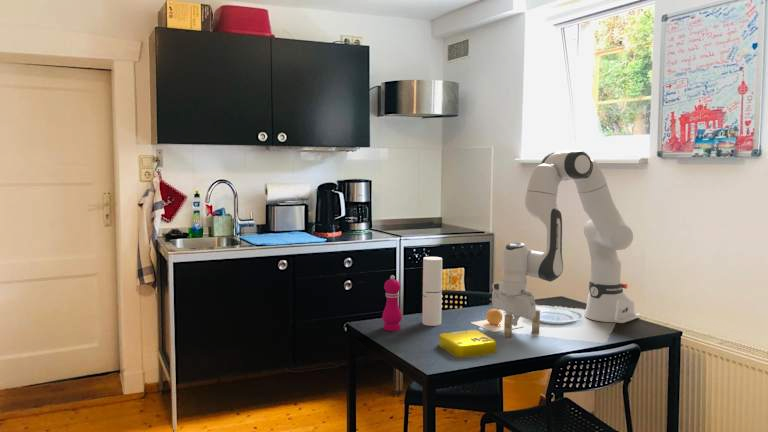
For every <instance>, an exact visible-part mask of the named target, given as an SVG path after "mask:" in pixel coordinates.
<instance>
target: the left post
mask: <svg viewBox="0 0 768 432" xmlns="http://www.w3.org/2000/svg"><path fill="white" fill-rule="evenodd" d="M512 316H513V314H512V315H510V314H506V313H505V314H504V320H505V321H504V331H503V337H504V338H505V339H512V333H513V332H512V331H513V329H512Z"/></svg>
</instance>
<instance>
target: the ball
mask: <svg viewBox="0 0 768 432" xmlns="http://www.w3.org/2000/svg"><path fill="white" fill-rule="evenodd" d="M485 319H486V320H487V321H488V322H489V323H490V324H492V325H497V324H499V323H500V322H501V321H502V319H503V314H502V312H501V310H500V309H497V308H491V309H489V310H488V311H487V313H486V317H485Z"/></svg>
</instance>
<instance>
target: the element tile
mask: <svg viewBox="0 0 768 432" xmlns="http://www.w3.org/2000/svg"><path fill="white" fill-rule="evenodd" d="M438 339H439V341H438V346H439V347H440V348H441V349H443V350H444V351H446V352H448V353H449V354H450V355H452V356H454V357H456V358H460V359H461V358H471V357H478V356H483V355H493V354H495V353H496V352H497V351H496V350H497V341H496V340H495V339H494V338H492V337H490V336H489V335H486V334H485V333H482V332H481V331H478V330H477V329H470V330H460V331H452V332H444V333H443V332H442V333H440V334H439V338H438Z"/></svg>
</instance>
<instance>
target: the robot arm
mask: <svg viewBox="0 0 768 432" xmlns="http://www.w3.org/2000/svg"><path fill="white" fill-rule="evenodd" d="M604 175H605V174H604V173H603V171H602V169H601V167H600V165H599V164H598V162H597V161H596V160H594V159H591V157H590V156H589V155H588V154H587V153H586V152H585V151H583V150H578V149H575V150H562V151H557V152H551V153H549V154H547V155H546V156H544V158H543V159H542V161H541V163H540V164H538V165H536V166H534V167H533V169H532V173H531V174H530V177H529V180H528V185H527V188H526V195H525V198H524V199H525V201H524V202H525V203H524V204H525V208H526V211H528V213H529V214H530V215H531V216H532V217H534V218H535V219H537V220H538V221H541V222H542V223H543V225H544V226H545V228H546V250H545V252H544V251H537V250H533V249H530V248H528V247H527V245H526V244H525V243H523V242H511V243H507V244H506V245H505V246H504V249H503V254H502V261H501V262H502V265H501V269H502V277H501V281H499V282H494V283H492V285H491V286H492V289H493V290H492V291H491V292H492V294H491V305H492V307H493V309H497V310H499V311H504V312H506V313H505V315H506V314H510V315H512V325H513V326H517V324H518V322H519V320H520V318H523V319H526V320H532V318H534V317H535V316H536V310H537V309H536V301H535V297H534V295H533V293H532V292H529V291H527V284H528V283H527V280H528V278H527V277H531V278H536V279H540V280H542V281H543V280H544V281H546V282H553V281H555V280H556V279H558V278H559V277H560V276H561V275H562V273H563V271H564V263H563V262H564V261H563V254H562V252H563V217H562V213H561V211H560V210H559V209H558V205H557V197H558V189H559V185H560V183H561V182H562V181H569V180H572V181H573V182H574V184H575V187H576V191H577V193H578V196H579V198H580V202H581V205H582V208H583V210H584V212H585V213H586V215H587V216H588V218H589V219H588V220H587V222H586V223H585V225H584V226H583V233H584V234H583V235H584V237H585V239H586V241H587V245H588V250H589V256H590V280H589V283H588V291H589V292H588V295H587V300H586V305H585V306H586V307H585V309H584V317H585V318H587V319H589V320H593V321H597V322H602V323H603V322H604V323H618V324H625V323H627V322H631V321H633V320H635V319H639V318H641V313H639V312H637V311H635V302H634V301H633V299H631V297H629V296H628V295H626V293H625V292H624V289H625V290H627V289H628V283H624V282H622V283H621V272H622V271H621V269H622V263H621V260H620V258H619V256H618V253H617V251H620V250H621V251H622V250H626V249H627V248H629V247H630V246H631V245H632V243H633V240H634V233H633V231H632V229H631V228H630V227H629V225H628V224H627V223H626V222H625V219H624V218H623V217H622V215H621V214H620V212H619V210H618V208H617V207H616V204H615V203H614V201H613V198H612V195H611V192H610V189H609V186H608V183H607V181H606V180H607V179H606V178H605V176H604Z"/></svg>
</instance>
